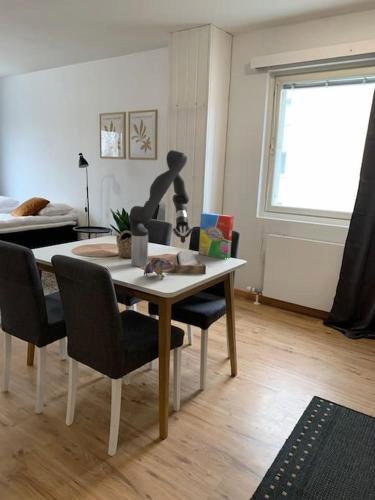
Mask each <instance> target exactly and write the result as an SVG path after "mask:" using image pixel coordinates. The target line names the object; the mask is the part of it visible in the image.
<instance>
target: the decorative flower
mask: <svg viewBox="0 0 375 500" xmlns="http://www.w3.org/2000/svg"><path fill="white" fill-rule="evenodd" d="M169 268H173V265H172V264H171V263H170V261H168V260H166V259H165V258H159V257H158V258H157V257H153V258H151V261H150V262H148V265H146V266H145V268H144V270H143V277H145V276H146V277H148V275H150V274H153V273H155V274H156V275H157V276H160V277H161V278H160V279H161V280H164V278H165V275H163V272H164V270H167V269H168V270H169Z"/></svg>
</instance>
